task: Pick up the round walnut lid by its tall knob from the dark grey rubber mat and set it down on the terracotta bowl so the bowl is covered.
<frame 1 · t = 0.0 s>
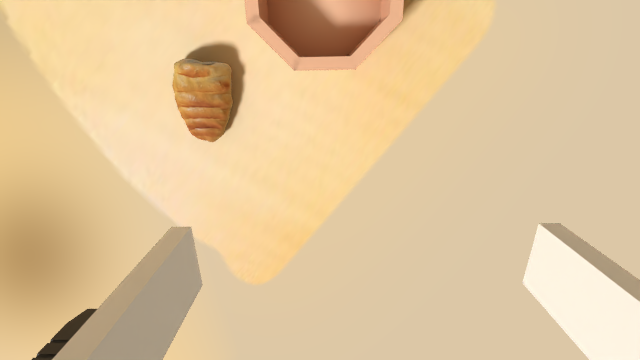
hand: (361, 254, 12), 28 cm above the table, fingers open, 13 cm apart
pastry: (210, 94, 38), on the table
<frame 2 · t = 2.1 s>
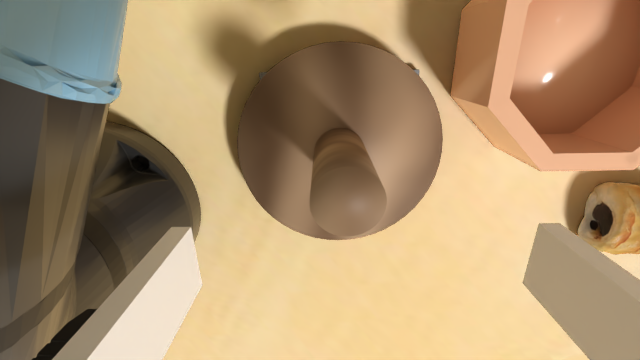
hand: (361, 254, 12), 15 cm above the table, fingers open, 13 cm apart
pastry: (619, 209, 29), on the table
lid: (338, 148, 26), point 1 cm above the table, touching mat
bowl: (552, 52, 23), on the table
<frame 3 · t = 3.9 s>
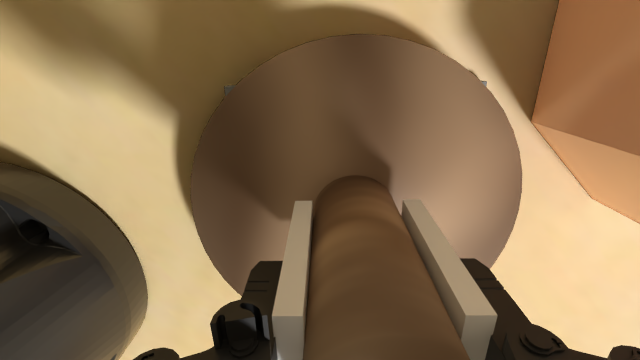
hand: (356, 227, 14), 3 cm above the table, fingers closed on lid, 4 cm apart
lid: (351, 202, 16), point 1 cm above the table, touching gripper, mat
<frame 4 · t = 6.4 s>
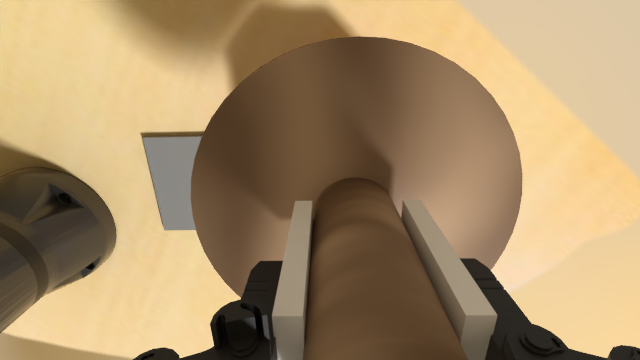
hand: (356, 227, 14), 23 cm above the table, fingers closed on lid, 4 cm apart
mat: (205, 184, 38), on the table
lid: (352, 204, 16), point 20 cm above the table, touching gripper
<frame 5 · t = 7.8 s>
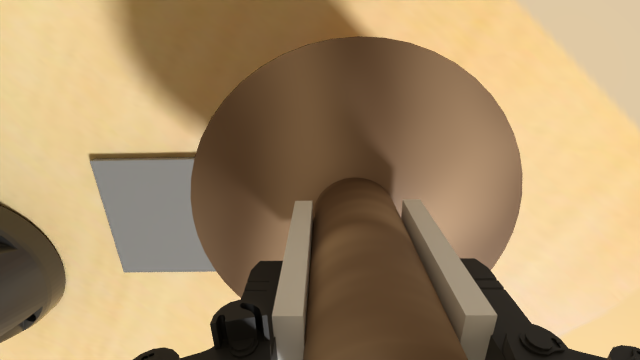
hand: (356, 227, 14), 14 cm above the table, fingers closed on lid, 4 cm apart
mat: (173, 216, 30), on the table
lid: (352, 204, 16), point 12 cm above the table, touching gripper
when the fingers open (10 cm above the table, at t = 8.9 s): lid drops 2 cm, resting on bowl.
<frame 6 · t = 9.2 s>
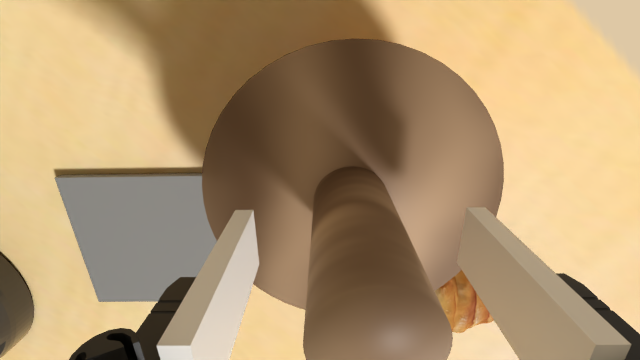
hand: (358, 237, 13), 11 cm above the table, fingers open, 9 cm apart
mat: (153, 240, 26), on the table
pastry: (446, 282, 28), on the table
lid: (349, 192, 18), point 6 cm above the table, touching bowl
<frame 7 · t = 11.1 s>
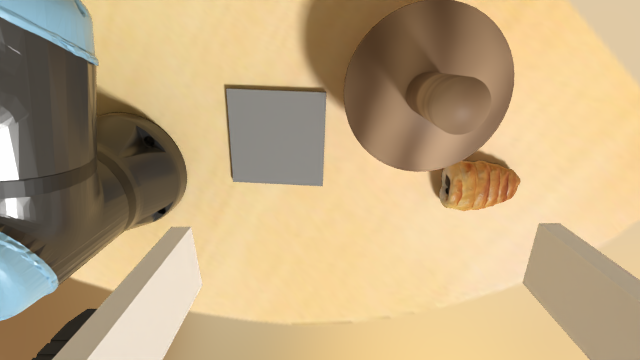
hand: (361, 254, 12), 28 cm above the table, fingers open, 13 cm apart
mat: (277, 138, 40), on the table
pastry: (469, 179, 41), on the table
lid: (423, 92, 31), point 6 cm above the table, touching bowl
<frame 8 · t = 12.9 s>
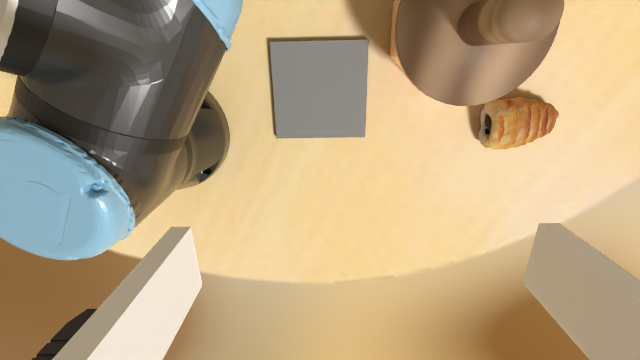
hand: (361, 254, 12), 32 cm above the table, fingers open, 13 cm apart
mat: (319, 91, 40), on the table
pastry: (506, 119, 42), on the table
lid: (472, 25, 32), point 6 cm above the table, touching bowl
bowl: (451, 29, 38), on the table
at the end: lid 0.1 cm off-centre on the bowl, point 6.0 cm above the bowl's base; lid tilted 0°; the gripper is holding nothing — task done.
